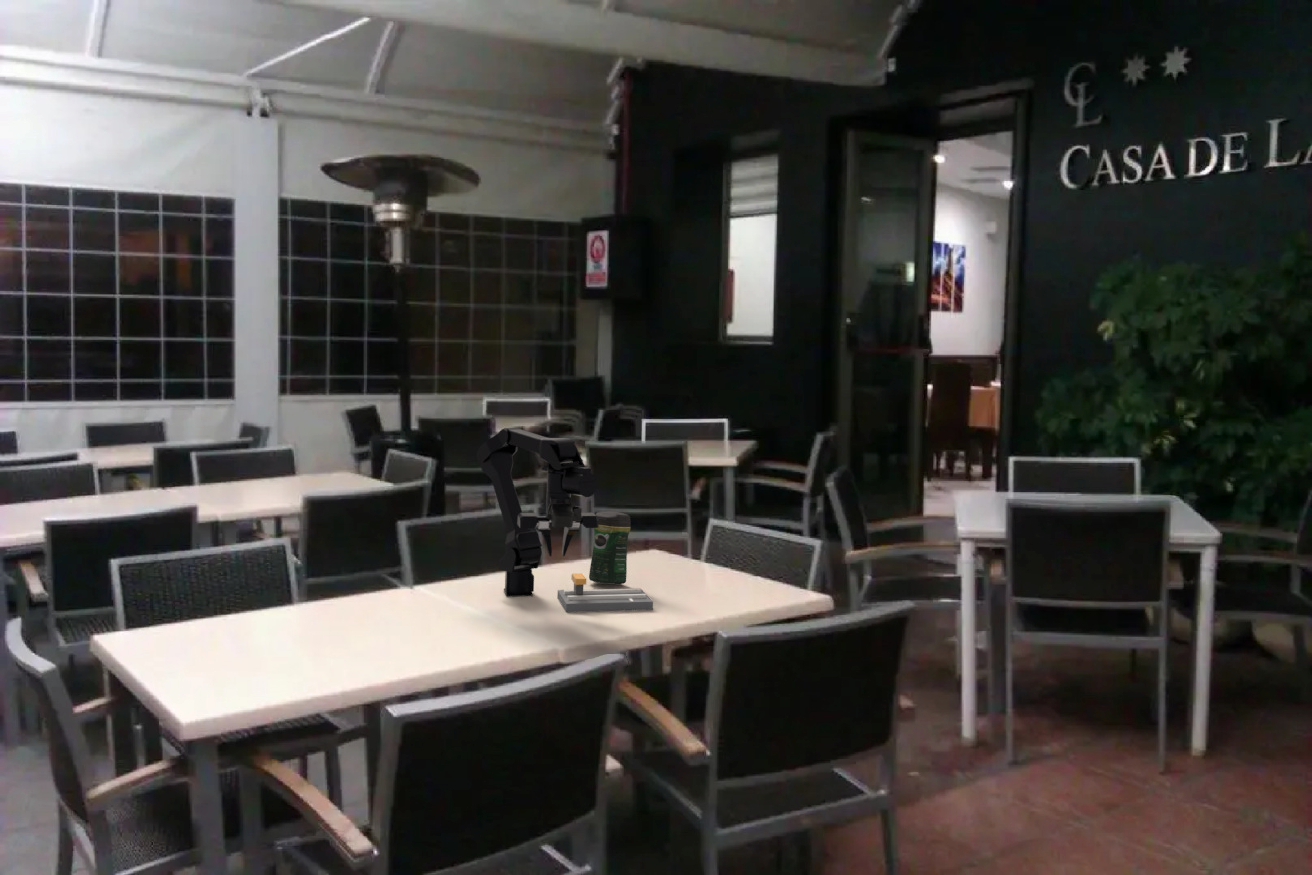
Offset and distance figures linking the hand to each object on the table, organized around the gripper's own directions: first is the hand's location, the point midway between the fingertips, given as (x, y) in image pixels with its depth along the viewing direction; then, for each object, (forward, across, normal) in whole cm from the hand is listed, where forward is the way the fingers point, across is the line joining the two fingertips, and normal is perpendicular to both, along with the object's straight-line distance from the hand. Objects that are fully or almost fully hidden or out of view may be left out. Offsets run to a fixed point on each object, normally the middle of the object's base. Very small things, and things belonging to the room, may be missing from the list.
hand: (556, 555), depth 268 cm
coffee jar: (+12, +16, +19) cm, 28 cm away
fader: (+10, +5, 0) cm, 11 cm away
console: (+12, +12, 0) cm, 17 cm away
